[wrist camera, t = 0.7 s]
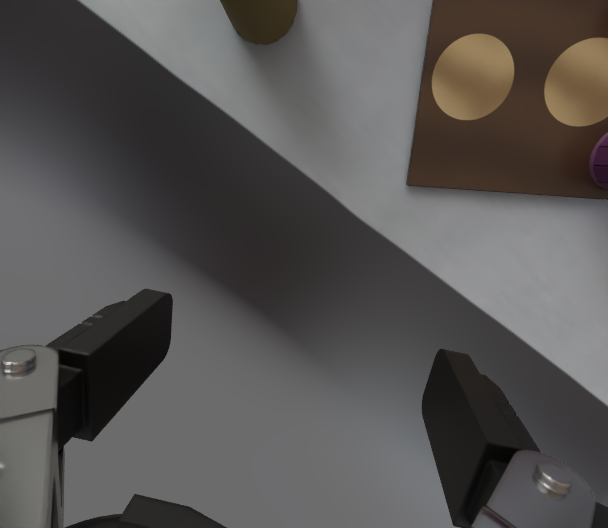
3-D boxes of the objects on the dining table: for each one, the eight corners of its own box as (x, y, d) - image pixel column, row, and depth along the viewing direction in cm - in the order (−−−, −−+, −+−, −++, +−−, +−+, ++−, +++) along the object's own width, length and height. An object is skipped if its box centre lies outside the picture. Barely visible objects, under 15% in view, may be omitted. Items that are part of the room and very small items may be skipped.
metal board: (440, -51, 28) (441, -55, 28) (813, -46, 26) (824, -50, 26) (406, 184, 34) (407, 185, 33) (712, 206, 32) (719, 207, 31)
